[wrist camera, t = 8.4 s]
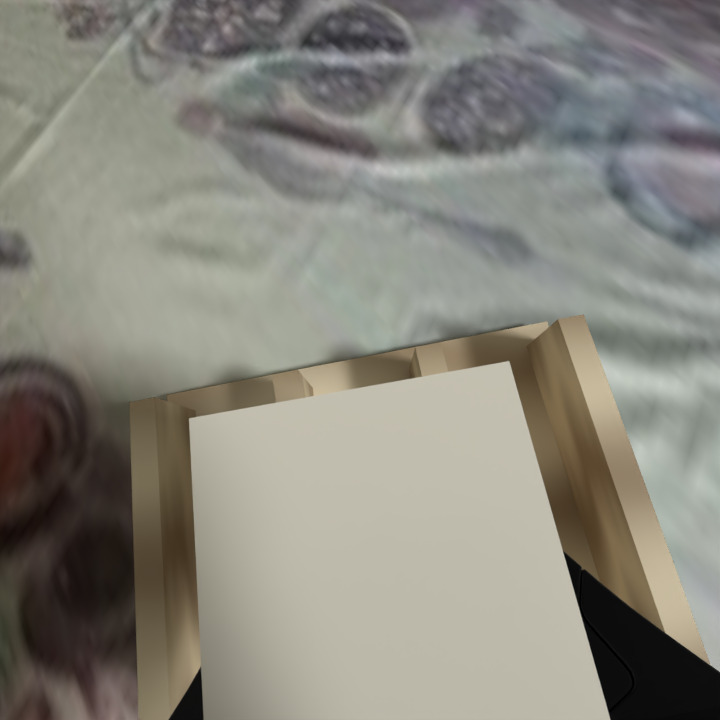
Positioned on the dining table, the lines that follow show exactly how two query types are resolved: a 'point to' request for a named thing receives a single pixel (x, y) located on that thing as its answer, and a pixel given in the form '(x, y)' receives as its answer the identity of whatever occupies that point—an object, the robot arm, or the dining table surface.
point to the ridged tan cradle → (517, 345)
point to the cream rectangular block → (384, 560)
